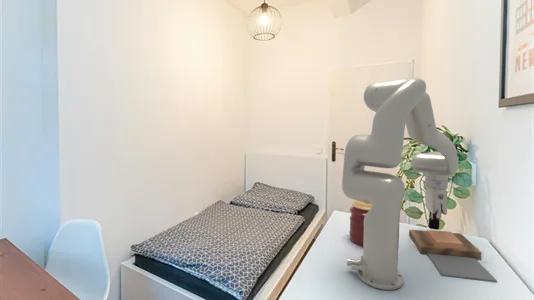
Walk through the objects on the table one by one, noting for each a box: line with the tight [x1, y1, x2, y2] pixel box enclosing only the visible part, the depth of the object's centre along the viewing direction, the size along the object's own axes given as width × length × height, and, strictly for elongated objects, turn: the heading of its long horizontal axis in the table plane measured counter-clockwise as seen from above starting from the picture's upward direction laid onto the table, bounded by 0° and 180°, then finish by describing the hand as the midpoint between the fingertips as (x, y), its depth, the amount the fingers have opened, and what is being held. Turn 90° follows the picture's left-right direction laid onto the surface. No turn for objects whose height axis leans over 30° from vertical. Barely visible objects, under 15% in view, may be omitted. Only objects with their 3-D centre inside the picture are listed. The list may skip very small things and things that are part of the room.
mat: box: [426, 253, 498, 283], centre depth 82 cm, size 14×13×1 cm
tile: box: [426, 229, 463, 250], centre depth 94 cm, size 8×10×2 cm
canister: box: [349, 200, 372, 247], centre depth 101 cm, size 13×13×18 cm
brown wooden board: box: [408, 229, 482, 261], centre depth 96 cm, size 18×15×2 cm
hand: (433, 228), depth 104 cm, fingers closed
